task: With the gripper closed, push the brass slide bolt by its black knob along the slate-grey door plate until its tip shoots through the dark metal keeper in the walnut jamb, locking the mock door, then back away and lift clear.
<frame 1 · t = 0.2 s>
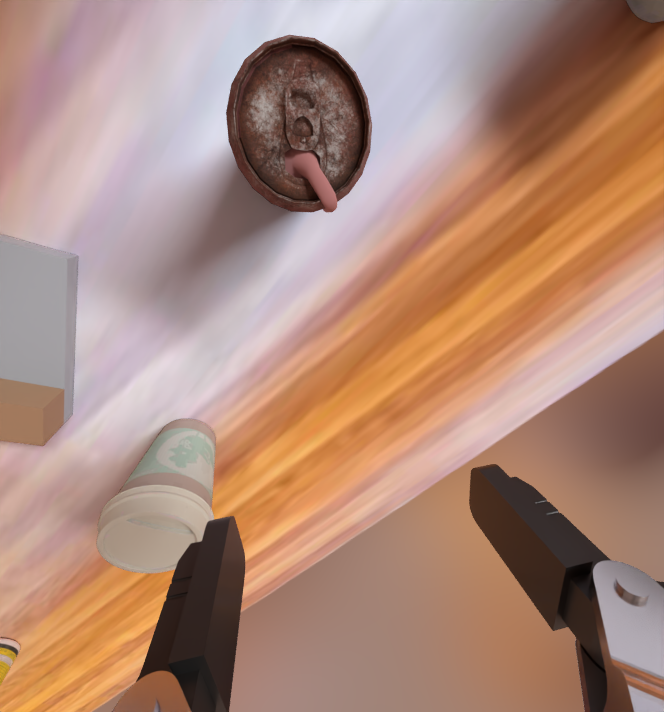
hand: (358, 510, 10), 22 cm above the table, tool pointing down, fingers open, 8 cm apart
can: (289, 165, 25), on the table
supplement bottle: (0, 644, 45), on the table
coffee cup: (188, 437, 35), on the table
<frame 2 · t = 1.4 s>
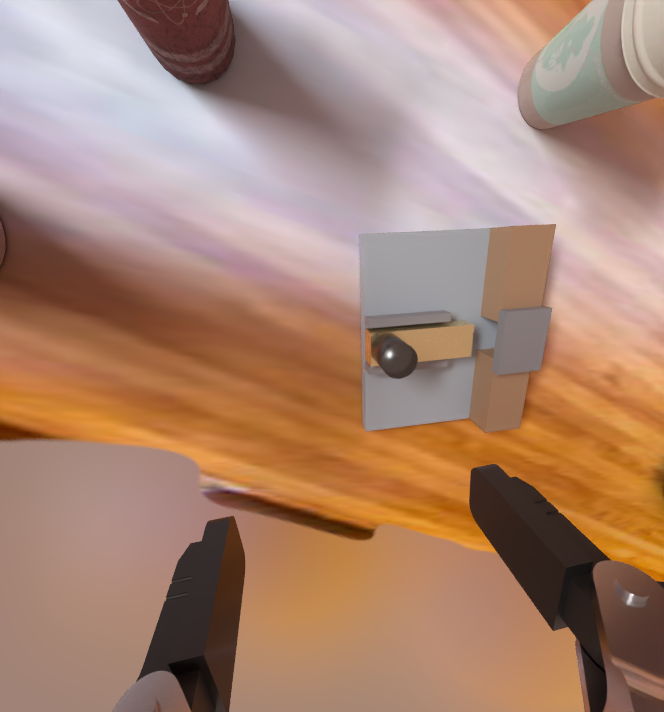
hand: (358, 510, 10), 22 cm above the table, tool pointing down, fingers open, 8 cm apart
can: (193, 35, 23), on the table
bolt: (426, 347, 28), point 4 cm above the table, slide at 0.0 cm
coffee cup: (546, 91, 27), on the table
door plate: (435, 332, 33), on the table
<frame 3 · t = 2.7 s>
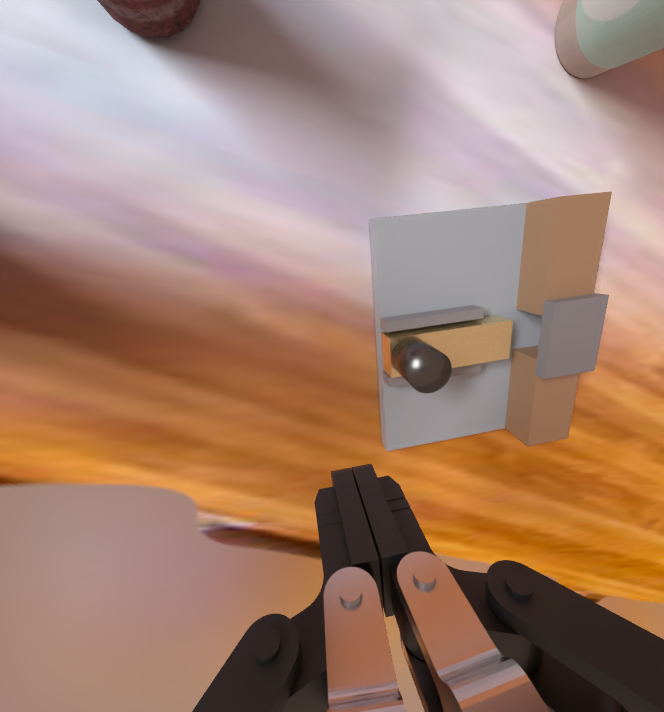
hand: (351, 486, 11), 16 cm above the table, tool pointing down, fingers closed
bolt: (457, 351, 24), point 4 cm above the table, slide at 0.0 cm
coffee cup: (588, 30, 22), on the table
door plate: (461, 331, 28), on the table
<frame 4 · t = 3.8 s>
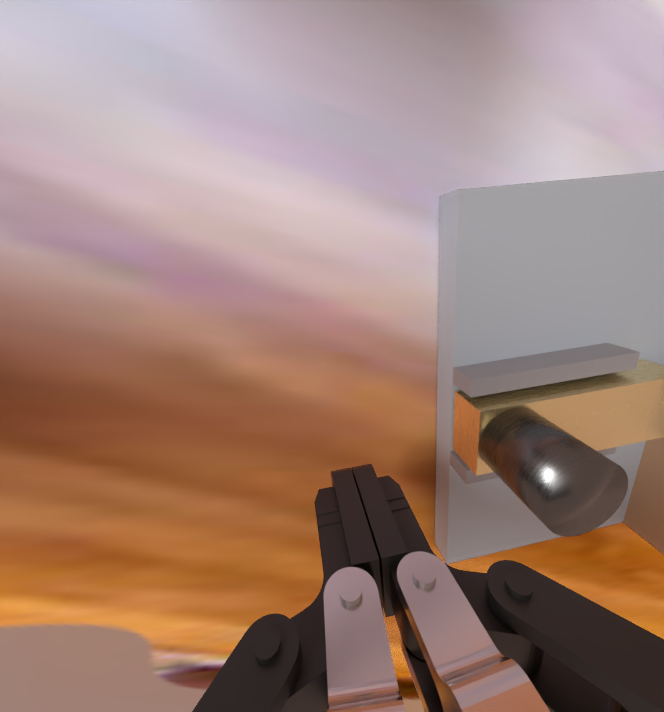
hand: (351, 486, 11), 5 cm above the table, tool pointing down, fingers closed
bolt: (600, 434, 13), point 4 cm above the table, slide at 0.0 cm
door plate: (571, 380, 18), on the table
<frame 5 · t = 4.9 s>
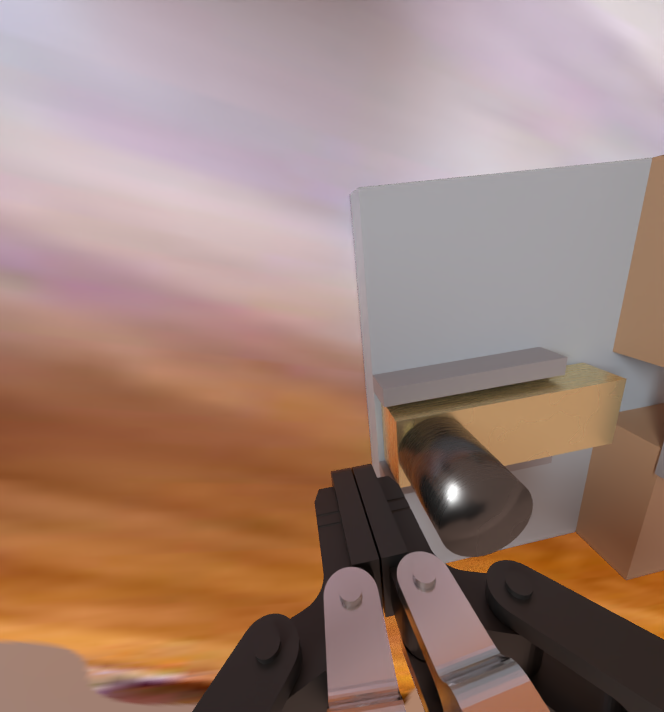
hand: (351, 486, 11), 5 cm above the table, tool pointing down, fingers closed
bolt: (526, 444, 12), point 4 cm above the table, slide at 0.3 cm, touching gripper
door plate: (512, 385, 17), on the table
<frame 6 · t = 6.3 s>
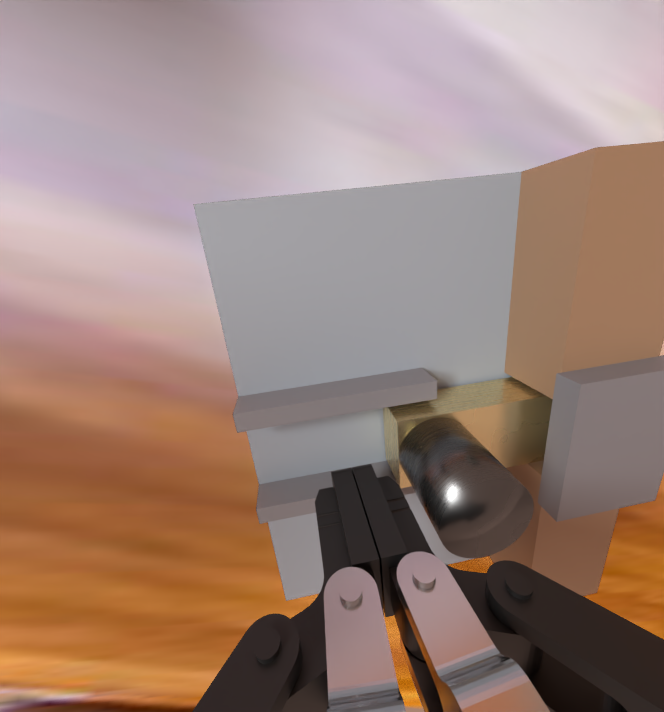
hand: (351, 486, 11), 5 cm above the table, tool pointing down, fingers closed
bolt: (528, 445, 12), point 4 cm above the table, slide at 6.1 cm, touching gripper
door plate: (410, 405, 16), on the table
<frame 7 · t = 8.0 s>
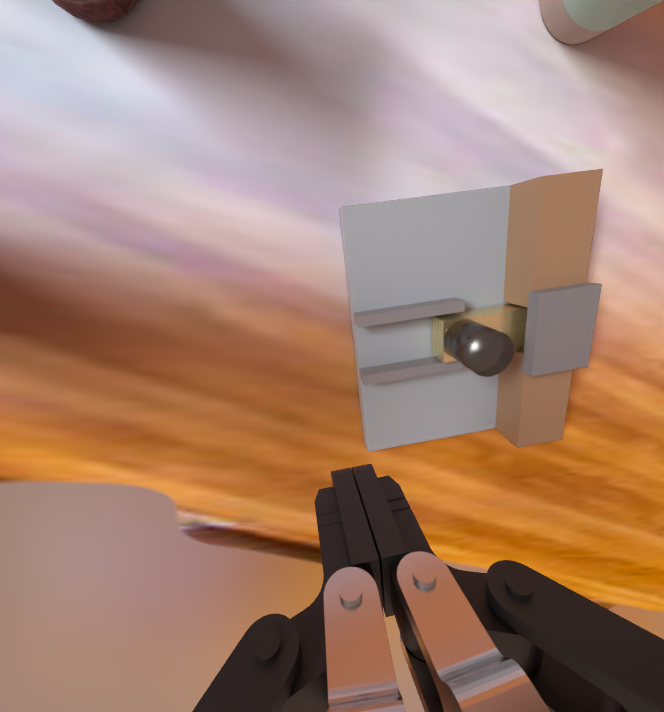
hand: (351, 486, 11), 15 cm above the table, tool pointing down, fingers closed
bolt: (514, 334, 22), point 4 cm above the table, slide at 6.0 cm
door plate: (445, 326, 26), on the table
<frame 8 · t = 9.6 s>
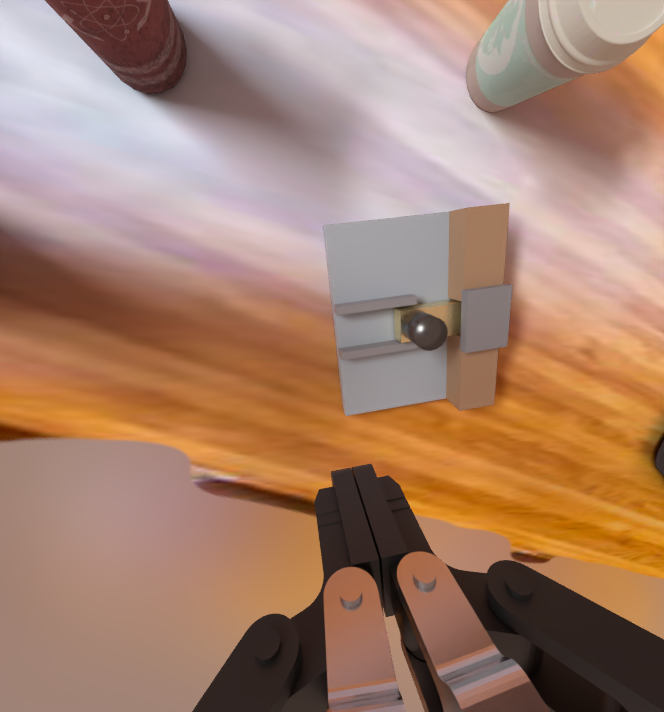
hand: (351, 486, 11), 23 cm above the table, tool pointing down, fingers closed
can: (147, 48, 24), on the table
bolt: (453, 321, 30), point 4 cm above the table, slide at 6.0 cm
coffee cup: (494, 74, 28), on the table
door plate: (406, 316, 34), on the table
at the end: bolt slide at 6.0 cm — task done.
